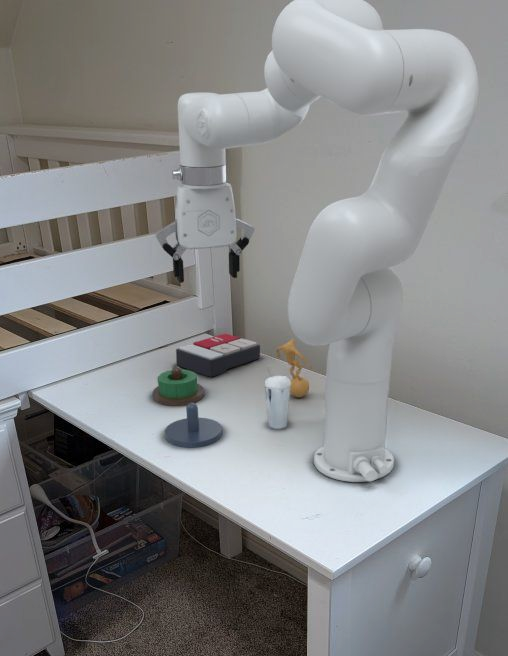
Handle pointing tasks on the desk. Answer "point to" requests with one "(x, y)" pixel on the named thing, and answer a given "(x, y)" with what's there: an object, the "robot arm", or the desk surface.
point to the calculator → (217, 354)
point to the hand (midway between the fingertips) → (206, 278)
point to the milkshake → (277, 400)
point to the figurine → (297, 383)
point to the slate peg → (193, 430)
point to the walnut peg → (178, 401)
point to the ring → (177, 384)
